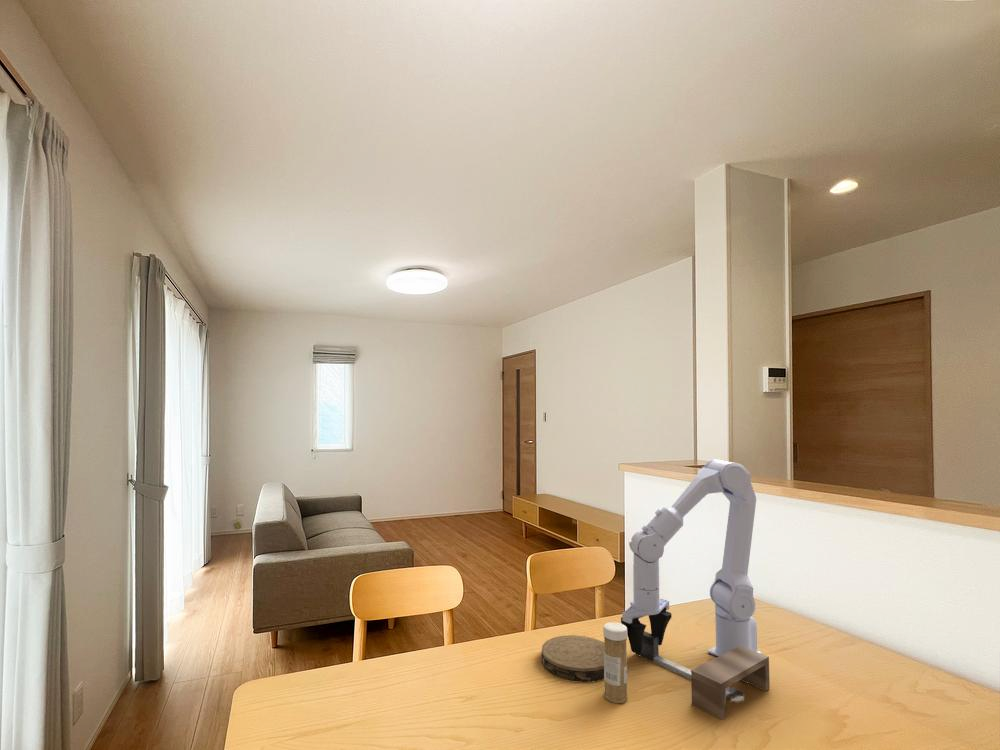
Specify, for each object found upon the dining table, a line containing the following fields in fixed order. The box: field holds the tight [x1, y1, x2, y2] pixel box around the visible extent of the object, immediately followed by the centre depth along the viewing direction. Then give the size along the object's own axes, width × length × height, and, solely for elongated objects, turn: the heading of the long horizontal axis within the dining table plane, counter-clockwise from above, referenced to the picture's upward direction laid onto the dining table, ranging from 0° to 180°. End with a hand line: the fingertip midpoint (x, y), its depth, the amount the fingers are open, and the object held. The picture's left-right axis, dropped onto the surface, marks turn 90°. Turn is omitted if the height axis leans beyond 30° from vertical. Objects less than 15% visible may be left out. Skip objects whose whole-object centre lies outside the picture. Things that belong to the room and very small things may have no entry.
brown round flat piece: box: [541, 634, 605, 683], centre depth 113 cm, size 16×16×3 cm
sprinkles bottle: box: [602, 621, 629, 704], centre depth 100 cm, size 5×5×13 cm
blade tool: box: [638, 630, 692, 681], centre depth 112 cm, size 18×5×5 cm, turn 37°
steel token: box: [726, 686, 745, 703], centre depth 100 cm, size 4×4×1 cm
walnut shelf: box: [690, 646, 771, 720], centre depth 101 cm, size 18×6×6 cm, turn 127°
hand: (646, 648), depth 116 cm, fingers open, 7 cm apart
